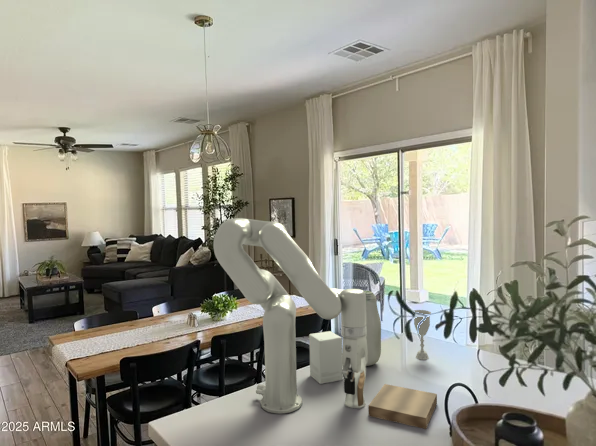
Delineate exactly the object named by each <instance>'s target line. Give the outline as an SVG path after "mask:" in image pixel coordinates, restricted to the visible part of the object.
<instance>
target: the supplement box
mask: <svg viewBox="0 0 596 446" xmlns="http://www.w3.org/2000/svg"><path fill="white" fill-rule="evenodd" d="M308 339H309V342H308V343H309V375H310V376H311V377H312V378H313V379H314V380H315V381H316V382H317V383H319V385H322V384H328V383H333V382H338V381H344V377H343V373H342V370H343V366H342V348H343V338H342V336H339V334H337V333H334V331H331V330H328V331H321V332H315V333H310V334H309V335H308Z"/></svg>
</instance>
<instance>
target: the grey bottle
mask: <svg viewBox="0 0 596 446" xmlns="http://www.w3.org/2000/svg"><path fill="white" fill-rule="evenodd" d="M363 291H364V292H365V294H366V334H367V336H366V340H367V353H368V363H367V364H366V367H367V366H369V367H370V366H373V365H376V364H377V363H378V361H380V358H381V355H382V354H381V353H382V324H381V323H382V322H381V316H380V313H379V309H378V304H377V303H378V302H377V301H378V300H377V296H376V294H375V293H374V292H372V290H371V291H370V290H363Z"/></svg>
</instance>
